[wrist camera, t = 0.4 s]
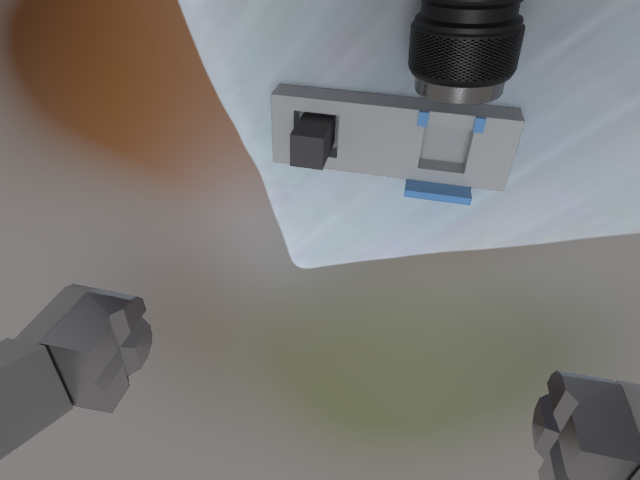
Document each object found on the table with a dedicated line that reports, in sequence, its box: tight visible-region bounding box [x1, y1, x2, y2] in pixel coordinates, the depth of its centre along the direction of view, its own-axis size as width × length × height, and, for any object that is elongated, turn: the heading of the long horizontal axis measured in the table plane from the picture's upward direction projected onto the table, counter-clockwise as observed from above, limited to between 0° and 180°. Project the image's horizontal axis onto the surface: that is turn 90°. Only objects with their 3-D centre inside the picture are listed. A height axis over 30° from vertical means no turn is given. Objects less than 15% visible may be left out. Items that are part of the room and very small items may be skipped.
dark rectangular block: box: [290, 112, 336, 170], centre depth 52 cm, size 4×4×7 cm
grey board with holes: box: [271, 84, 525, 205], centre depth 52 cm, size 9×26×6 cm, turn 88°
